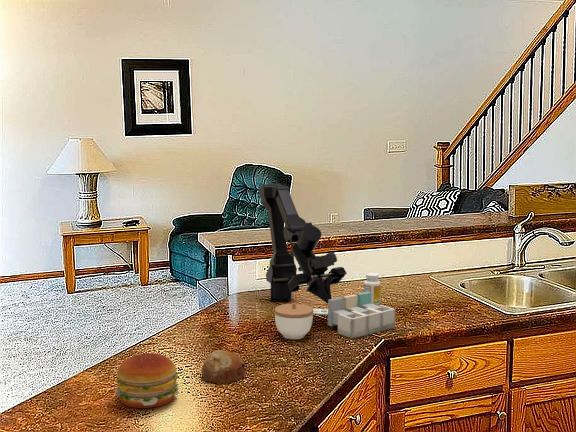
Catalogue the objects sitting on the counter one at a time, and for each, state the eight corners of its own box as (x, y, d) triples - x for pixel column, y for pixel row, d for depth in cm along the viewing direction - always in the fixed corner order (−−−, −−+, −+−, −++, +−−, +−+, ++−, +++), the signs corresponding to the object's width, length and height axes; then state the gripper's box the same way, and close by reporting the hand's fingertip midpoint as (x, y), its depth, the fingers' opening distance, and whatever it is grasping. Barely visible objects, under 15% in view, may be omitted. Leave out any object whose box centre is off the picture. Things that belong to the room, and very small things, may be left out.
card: (302, 313, 218) (302, 312, 218) (304, 309, 223) (304, 307, 223) (328, 315, 217) (328, 313, 217) (329, 310, 222) (329, 308, 222)
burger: (111, 414, 146) (110, 368, 144) (119, 388, 159) (117, 346, 158) (178, 411, 147) (177, 365, 146) (179, 386, 161) (178, 344, 159)
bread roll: (210, 382, 172) (195, 354, 171) (248, 364, 173) (234, 336, 171) (209, 399, 163) (193, 369, 161) (249, 379, 163) (234, 350, 161)
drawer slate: (327, 325, 204) (328, 299, 202) (339, 322, 206) (339, 297, 205) (343, 330, 198) (344, 304, 197) (355, 328, 201) (355, 302, 200)
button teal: (356, 318, 210) (356, 293, 209) (367, 315, 213) (367, 291, 212) (372, 323, 205) (373, 298, 204) (383, 321, 208) (383, 296, 207)
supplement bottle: (379, 301, 233) (380, 272, 231) (380, 305, 228) (381, 276, 226) (363, 300, 233) (363, 272, 232) (363, 305, 228) (364, 275, 227)
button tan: (342, 321, 207) (342, 296, 206) (353, 319, 210) (353, 294, 209) (358, 327, 202) (358, 301, 201) (369, 324, 204) (370, 299, 203)
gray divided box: (337, 333, 199) (338, 314, 199) (380, 322, 210) (380, 304, 209) (352, 338, 195) (352, 319, 194) (395, 327, 205) (395, 309, 204)
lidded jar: (317, 332, 200) (318, 300, 199) (306, 344, 190) (306, 310, 189) (282, 328, 204) (282, 296, 202) (268, 339, 194) (269, 306, 192)
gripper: (294, 247, 201) (318, 292, 194) (343, 240, 213) (367, 283, 206) (277, 269, 209) (300, 314, 202) (325, 261, 220) (349, 303, 213)
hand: (330, 303), depth 205 cm, fingers closed
